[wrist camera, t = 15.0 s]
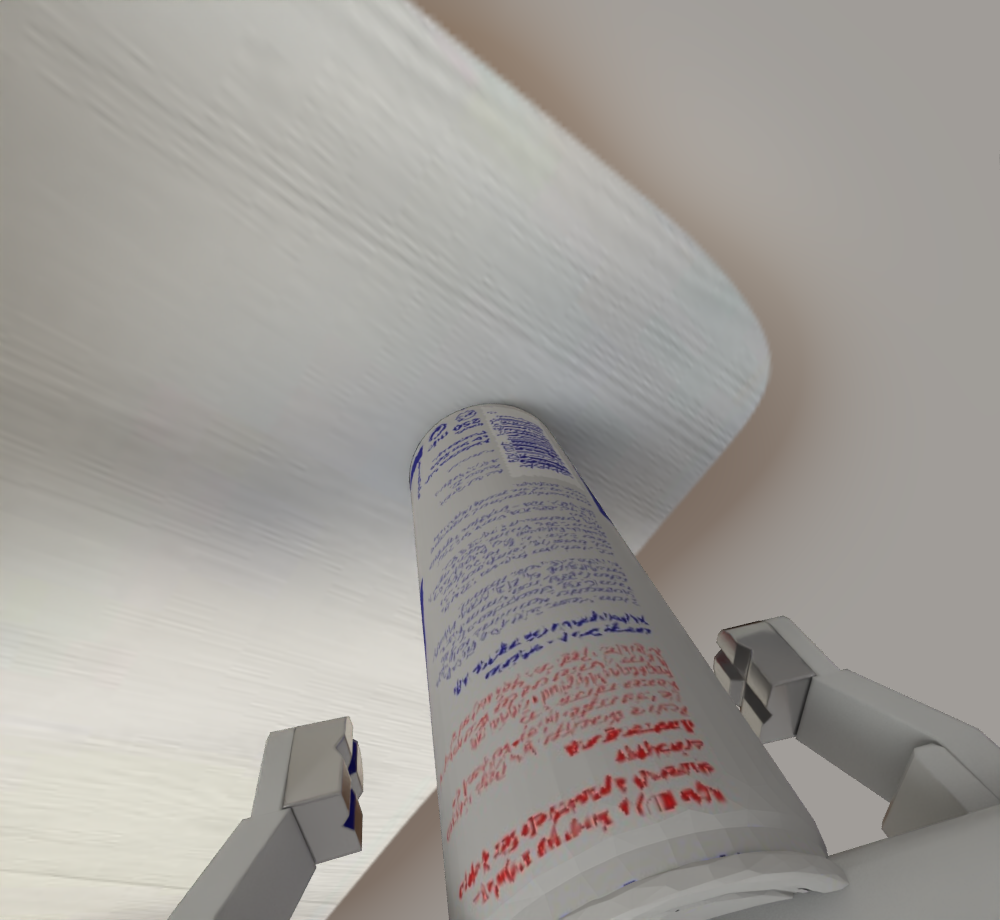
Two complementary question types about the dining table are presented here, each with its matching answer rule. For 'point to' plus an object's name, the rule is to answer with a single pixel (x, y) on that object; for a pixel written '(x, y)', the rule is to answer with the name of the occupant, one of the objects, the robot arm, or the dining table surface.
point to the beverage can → (579, 707)
